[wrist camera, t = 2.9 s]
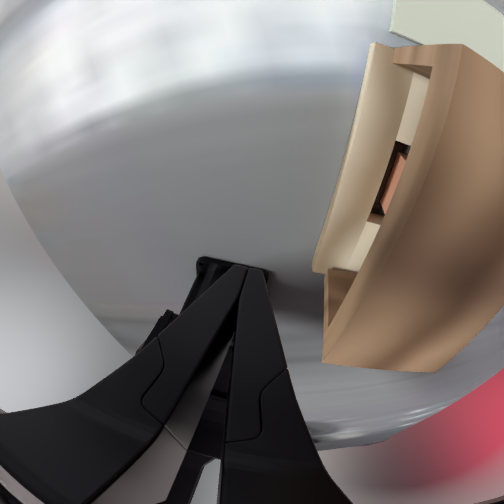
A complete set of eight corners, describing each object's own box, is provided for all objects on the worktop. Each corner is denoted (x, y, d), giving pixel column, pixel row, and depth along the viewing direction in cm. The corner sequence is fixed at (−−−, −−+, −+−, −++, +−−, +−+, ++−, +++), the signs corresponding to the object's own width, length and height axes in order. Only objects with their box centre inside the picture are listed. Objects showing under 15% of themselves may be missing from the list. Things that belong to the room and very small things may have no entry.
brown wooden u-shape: (324, 277, 21) (322, 362, 15) (395, 48, 10) (462, 43, 4) (418, 296, 20) (435, 372, 15) (508, 112, 9) (584, 158, 3)
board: (312, 259, 22) (311, 271, 21) (370, 43, 11) (376, 42, 10) (454, 290, 21) (459, 301, 20) (533, 137, 10) (544, 144, 9)
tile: (389, 31, 10) (391, 30, 10) (397, -42, 6) (399, -45, 6) (497, 90, 10) (502, 92, 9) (506, 21, 5) (511, 21, 5)
